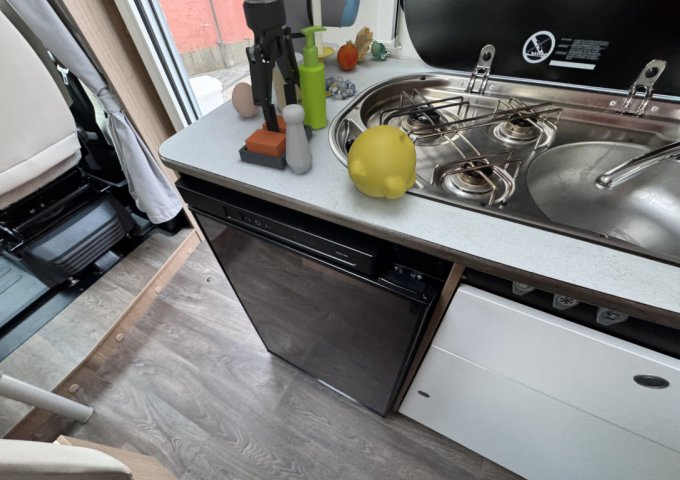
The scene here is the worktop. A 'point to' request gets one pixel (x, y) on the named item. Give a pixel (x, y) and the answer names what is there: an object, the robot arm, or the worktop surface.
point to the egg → (244, 100)
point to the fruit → (347, 56)
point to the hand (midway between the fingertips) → (283, 123)
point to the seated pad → (267, 142)
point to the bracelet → (339, 81)
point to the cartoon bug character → (363, 44)
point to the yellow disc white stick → (322, 50)
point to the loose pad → (280, 123)
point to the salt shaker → (296, 139)
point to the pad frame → (268, 159)
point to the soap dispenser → (312, 82)
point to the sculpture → (382, 162)
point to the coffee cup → (279, 83)
